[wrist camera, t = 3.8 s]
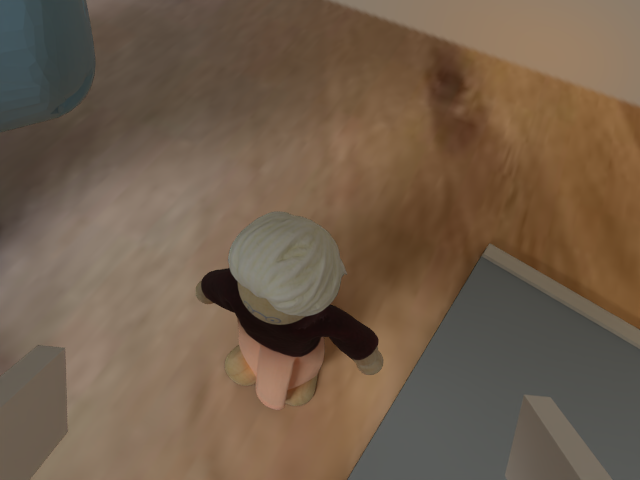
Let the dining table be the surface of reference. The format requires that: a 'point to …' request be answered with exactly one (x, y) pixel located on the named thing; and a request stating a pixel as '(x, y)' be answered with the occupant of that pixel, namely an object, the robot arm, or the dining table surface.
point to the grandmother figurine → (286, 308)
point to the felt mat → (511, 380)
